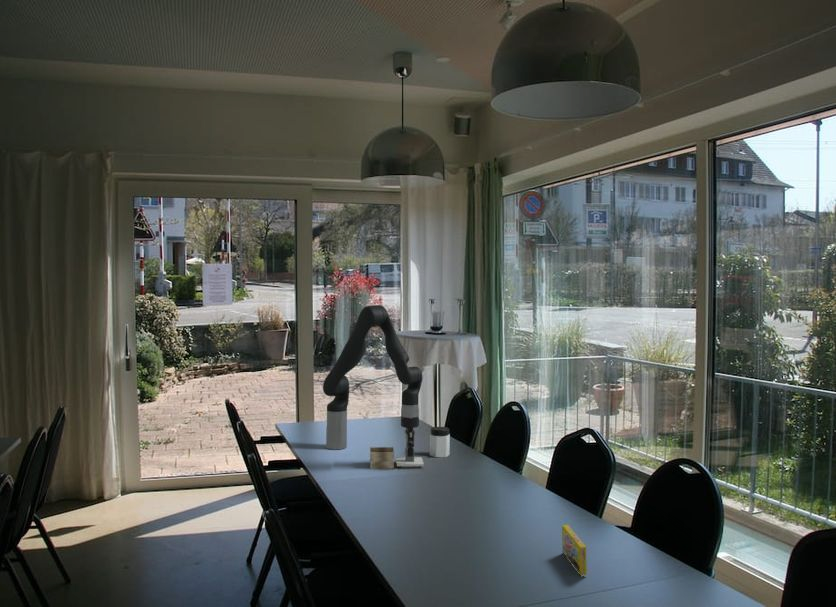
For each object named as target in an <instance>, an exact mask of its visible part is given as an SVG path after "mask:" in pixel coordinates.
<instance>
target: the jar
mask: <svg viewBox="0 0 836 607" xmlns="http://www.w3.org/2000/svg"><path fill="white" fill-rule="evenodd" d="M450 440H451V434H450V428H449V427H446V426H433V427H430V434H429V456H430V457H433V458H436V457H440V458H447V457H449V456H450V452H451V451H450V450H451V447H450V443H451V442H450Z"/></svg>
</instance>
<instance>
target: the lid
mask: <svg viewBox="0 0 836 607" xmlns="http://www.w3.org/2000/svg"><path fill="white" fill-rule="evenodd" d="M404 449H405V450H404V451H405V452H404V453H405V454H404V456H403V457H398V456H397V457H395V462H396V467H397V466H401V467H419V466H423V467H424V466H425V464H424V460H423V458H422V456H418V457H416V456H415V448H414V447H413V456H412V457H408V448H406V447H404Z"/></svg>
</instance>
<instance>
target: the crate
mask: <svg viewBox="0 0 836 607" xmlns="http://www.w3.org/2000/svg"><path fill="white" fill-rule="evenodd" d="M369 451H370V452H369V458H370V460H369V465H370V466H369V468H370V469H372V470H373V469H375V470H377V469H378V470H379V469H381V470H382V469H395V450H394V447H393V446H375V447H374V446H373V447H371V446H370V447H369Z"/></svg>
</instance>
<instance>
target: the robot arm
mask: <svg viewBox="0 0 836 607" xmlns="http://www.w3.org/2000/svg"><path fill="white" fill-rule="evenodd" d="M392 322H393V321H392V320H391V317H390V314H389V312H388V311H387V309H386V307H385V306H383V305H380V304H375V305H367V306H364V307H363V308H361V311H360V312H359V315H358V318H357V320H356V322H355V325H354V328H353V330H352V331H351V333H350V336H349V337H348V339H347V342H346V343H345V345H344V347H343V348H342V351H341V352H340V355H339V357H338V358H337V360H336V361H335V363H334V365H333V367H332V368H331V370H330V371H329V373H328V374H326V377H325V379H324V380H323V383H322V390H323V393H324V395H325V396H328V397H334V398H333V399H332V400H331V401H330V402H328V403H327V405H326V430H325V432H326V435H325V440H326V446H325V447H326V449H327V450H344V449H347V446H348V438H347V437H348V406H349V402H350V401H349V398H350V381H349V379H348V377H347V374H348V373H349V372H350V371H351V370H352V369H354V368H355V367H357V365H358V364H359V363H360V361H362V358H363V357H364V355H365V354H366V350H367V344H366V343H367V342H366V337H367V335H368V333H369V332H370V330H371V328H376V327H378V328H380V329H381V331H382V332H383V335H384V338H385V340H384V341H385V342H384V343H385V344H384V345H385V350H386V353H387V355H388V356H389V359H390V361H392V363H393V367H394V369H395V370H394V371H395V374H396V377H397V379H398V380H399V382H400V383H401V384H403V385H406V386H407V388H406V389H404V390H402V392H401V407H400V426H401V427H402V428H405V430H404V435H405V436H404V438H405V442H406V445H405V446H406V447H405V448H408V457H412V456H413V448H414V447H415V436H416V432H415V430H414V429H415V428H418V427H419V426H420V406H419V399H420V396H419V394H420V391H421V387H422V383H423V377H424V376H423V371H422V370H421V368H420V367H419V366H408V365H407V364H408V362H409V361H410V356H409V354H408V353H407V351H406V350H405V348H404V346H403V344H402V343H401V341H400V339H399V337H398V335H397V332H396V329H395V327H394V324H393V323H392ZM343 448H344V449H343Z"/></svg>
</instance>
